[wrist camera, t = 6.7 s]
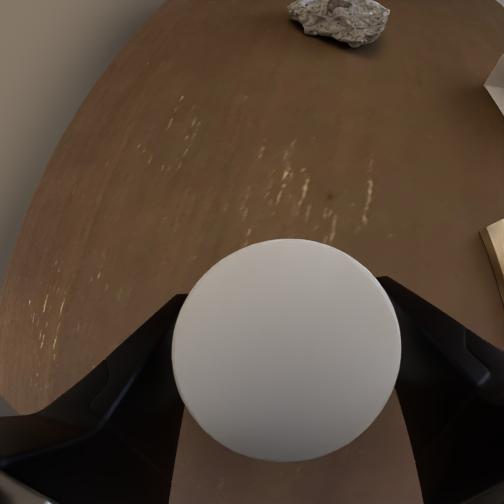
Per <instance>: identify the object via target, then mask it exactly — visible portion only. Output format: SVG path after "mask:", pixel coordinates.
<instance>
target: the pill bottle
mask: <svg viewBox="0 0 504 504" xmlns="http://www.w3.org/2000/svg"><path fill="white" fill-rule="evenodd" d="M400 359H401V338H400V329H399V324H398V320H397V317H396V314H395V311H394V308H393V306H392V303H391V301H390V299H389V297H388V295H387V294H386V292H385V291H384V289H383V288H382V286H381V285H380V283H379V282H378V280H377V279H376V278H375V277H374V276H373V275H372V274H371V273H370V272H369V271H368V270H367V268H365V267H364V266H362V265H361V264H360V263H359V262H358V261H356V260H355V259H353V258H352V257H350V256H349V255H347V254H345V253H344V252H342V251H340V250H338V249H335V248H333V247H330V246H328V245H325V244H321V243H318V242H313V241H309V240H302V239H277V240H270V241H265V242H261V243H256V244H252V245H250V246H247V247H245V248H242V249H240V250H238V251H236V252H234V253H232V254H231V255H229V256H227V257H225V258H223V259H222V260H221V261H219V262H218V263H217V264H215V265H214V266H213V267H212V268H211V269H210V270H208V271H207V272H206V273H205V274H204V275H203V276H202V277H201V279H200V280H199V281H198V282H197V283H196V285H195V286H194V287H193V289H192V290H191V291H190V293H189V295H188V296H187V298H186V300H185V302H184V304H183V306H182V308H181V310H180V313H179V316H178V318H177V321H176V325H175V328H174V333H173V340H172V364H173V373H174V377H175V381H176V385H177V388H178V391H179V394H180V396H181V398H182V400H183V402H184V404H185V406H186V408H187V409H188V411H189V412H190V414H191V415H192V417H193V418H194V419H195V421H196V422H197V423H198V424H199V425H200V427H201V428H202V429H203V430H204V431H205V432H206V433H208V434H209V435H210V436H211V437H212V438H214V439H215V440H216V441H218V442H219V443H220V444H222V445H223V446H225V447H227V448H228V449H230V450H232V451H234V452H236V453H239V454H241V455H244V456H247V457H250V458H253V459H257V460H262V461H268V462H278V463H289V462H301V461H306V460H311V459H315V458H319V457H322V456H324V455H327V454H329V453H332V452H334V451H336V450H338V449H340V448H342V447H343V446H345V445H347V444H349V443H350V442H351V441H353V440H354V439H355V438H357V437H358V436H359V435H360V434H361V433H363V432H364V431H365V430H366V429H367V428H368V427H369V426H370V425H371V424H372V422H373V421H374V420H375V419H376V417H377V416H378V415H379V413H380V412H381V411H382V409H383V408H384V406H385V404H386V403H387V401H388V399H389V397H390V395H391V393H392V391H393V388H394V386H395V383H396V379H397V376H398V372H399V367H400Z"/></svg>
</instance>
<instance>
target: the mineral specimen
mask: <svg viewBox="0 0 504 504" xmlns="http://www.w3.org/2000/svg"><path fill="white" fill-rule="evenodd" d="M287 8H288V10H289V13H290V15H291V18H292V19H293V20H296V21H299V22H300V23H301V24H302V26H303V27H304V32H305V34H308V35H319V34H320V35H322V36H331V38H334V39H336V40H337V41H341V42H347V43H348V45H350V46H351V47H355V48H356V47H359V46H360V45H362V44H367V43H371V42H373V41H375V39H377V37H378V36H379V35H380V34H381V33H382V31H383V30H384V28H385V25H386V22H387V20H388V19H387V18H388V17H387V16H388V15H389V14H390V10H389V9H386V8H384V7H382V5H381V4H379V3H377V2H375V1H372V0H297V1H296V2H294V3H291V4H290V5H289V6H288V7H287Z"/></svg>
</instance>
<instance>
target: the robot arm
mask: <svg viewBox="0 0 504 504" xmlns="http://www.w3.org/2000/svg"><path fill="white" fill-rule="evenodd" d="M376 279H377V280H378V282H379V283H380V285H381V286H382V288H383V289H384V291H385V292H386V294H387V295H388V297H389V299H390V301H391V303H392V306H393V308H394V311H395V314H396V317H397V320H398V324H399V329H400V338H401V359H400V367H399V372H398V376H397V379H396V383H395V389H396V393H397V396H398V399H399V403H400V406H401V409H402V413H403V416H404V420H405V424H406V427H407V431H408V435H409V438H410V442H411V446H412V450H413V454H414V459H415V461H416V462H415V464H416V468H417V472H418V477H419V482H420V487H421V492H422V497H423V502H424V504H504V352H503V351H502V350H500V349H498V348H497V347H495V346H494V345H492V344H490V343H489V342H487V341H486V340H484V339H483V338H481V337H480V336H478V335H477V334H475V333H474V332H472V331H471V330H469V329H468V328H466V327H465V326H463V325H462V324H460V323H459V322H458V321H456V320H455V319H453V318H452V317H450V316H449V315H447V314H446V313H444V312H443V311H441V310H440V309H438V308H437V307H435V306H434V305H432V304H431V303H429V302H427V301H426V300H424V299H423V298H421V297H420V296H418V295H417V294H415V293H414V292H412V291H410V290H409V289H407V288H406V287H404V286H403V285H401V284H399V283H398V282H396V281H395V280H393V279H391V278H390V277H388V276H382V277H376ZM188 295H189V294H177V295H175V296H174V297H173V298H172V299H171V300H169V301H168V302H167V303H166V304H165V305H164V306H163V307H162V308H160V309H159V310H158V311H157V312H156V313H155V314H154V315H153V316H152V317H150V318H149V319H148V320H147V321H146V322H145V323H144V324H143V325H142V326H140V327H139V328H138V329H137V330H136V331H135V332H134V333H133V334H132V335H131V336H129V337H128V338H127V339H126V340H125V341H124V342H123V343H122V344H121V345H120V346H118V347H117V348H116V349H115V350H114V351H113V352H112V353H111V354H110V355H109V356H108V357H106V360H105V359H104V360H103V361H102V362H101V363H100V364H99V365H98V366H97V367H95V368H94V369H93V370H92V371H91V372H90V373H89V374H87V375H86V376H85V377H84V378H83V379H82V380H80V381H79V382H78V383H77V384H75V385H74V386H73V387H72V388H70V389H69V390H68V391H66V392H65V393H64V394H62V395H61V396H60V397H59V398H57V399H56V400H55V401H53V402H52V403H51V404H50V405H48V406H47V407H46V408H44V409H43V410H41V411H39V412H36V413H34V414H30V415H22V416H6V417H0V504H169V497H170V490H171V484H172V482H171V481H172V476H173V470H174V464H175V458H176V452H177V446H178V440H179V434H180V429H181V423H182V418H183V412H184V407H185V404H184V402H183V400H182V398H181V396H180V394H179V391H178V388H177V385H176V381H175V377H174V373H173V364H172V340H173V333H174V328H175V325H176V321H177V318H178V316H179V313H180V310H181V308H182V306H183V304H184V302H185V300H186V298H187V296H188Z"/></svg>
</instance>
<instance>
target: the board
mask: <svg viewBox="0 0 504 504" xmlns="http://www.w3.org/2000/svg"><path fill="white" fill-rule="evenodd" d="M480 234H481V237H482V239H483V242H484V244H485V247H486V250H487V253H488V255H489V258H490V261H491V264H492V267H493V270H494V273H495V277H496V280H497V283H498V286H499V290H500V294H501V297H502V301H503V305H504V219H502V220H500V221H498V222H496V223H494V224H492V225H490V226H487V227H485V228H484V229H482V230H480Z"/></svg>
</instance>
